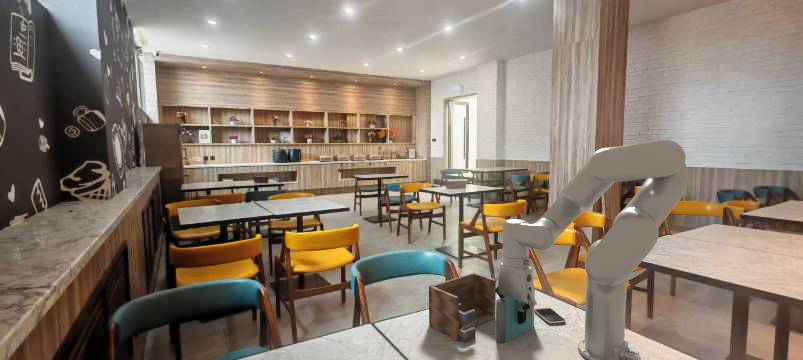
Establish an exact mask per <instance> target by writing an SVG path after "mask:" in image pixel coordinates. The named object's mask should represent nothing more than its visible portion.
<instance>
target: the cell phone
mask: <svg viewBox="0 0 803 360" xmlns="http://www.w3.org/2000/svg"><path fill="white" fill-rule="evenodd" d="M534 314H536V315H538V317H539V318H540V319H542V320H543V321H544V322H545V323H546V324H547V325H550V326H552V325H554V326H555V325H564V324H566V322H567V321H566V319H565V318H564V317H563V316H561V315H560V314H558V313H557V312H556V311H555V310H554V309H552V308H551V307H543V308H542V307H541V308H534Z"/></svg>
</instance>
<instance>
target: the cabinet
mask: <svg viewBox="0 0 803 360" xmlns="http://www.w3.org/2000/svg"><path fill="white" fill-rule="evenodd" d="M496 288H497V280H496V279H495V278H492V277H488V276H485V275H483V274H480V273H478V272H471V273H468V274H465V275H462V276H458V277H454V278H452V279H448V280H445V281H441V282H438V283H434V284H432V285H428V326H429V327H431V328H432V329H434V330H436V331H438V332H440V333H441V334H443V335H445V336H446V337H448V338H450V339H452V340H453V341H455V342H456V341H460V342H462V343H467V342H469V341H471V340H473V339H476V337H477V336H476V329H477V328H476V327H478V326H481V325H483V324H485V323H488V322H490V321H492V320H495V319H496V300H497V299H496V298H497V297H496V296H497V293H496V292H495V289H496Z"/></svg>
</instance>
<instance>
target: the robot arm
mask: <svg viewBox="0 0 803 360" xmlns="http://www.w3.org/2000/svg"><path fill="white" fill-rule="evenodd" d="M686 159H687V158H686V152H685V149H683V147H682V145H680V144H679V143H677V142H676V141H674V140H671V139H656V140H655V139H654V140H651V141H646V142H639V143H633V144H627V145H621V146H612V147H611V146H610V147H602V148H600V149H598V150H596V151H595V152H593V154H592V155H591V156H590V158H589V159H588V161H586V162H585V164H583V166H582V167H581V168H580V169H579V170H578V171H577V173H576V174H574V176H573V177H572V178H571V179H570V180H569V181H568V182H567V184H565V186H564V187H563V188H562V189H561V191H560V193H559V195H558V197H557V199H555V201H554V202H553V203H552V204H551V205H550V207H549V208H548V209H547V210H546V211H545V212H544V213H543V214H542V215H541V216H540V218H538V219H537V221H535V222H534V223H529V222H528V221H527V220H525V219H517V218H510V219H506V220H505V221H503V223H502V224H503V225H502V262H501V263H500V267H499V271H498V281H497V282H498V283H497V286H496V289H495V292H496V295H497V296H499V299H502V298H505V297H507V296H509V297H511V298H514V300H516V301H518V304H519V310H520V311H518V324H519V325H520V324H523V323H525V322H526V310H528V309H529V308H530V307H533V306H534V307H535V306H537V305H538V302H537V300H536V299H535V296H534V290H535V285H534V284H535V283H534V275H533V269H532V267H531V266H532V265H533V261H531V260H530V249H534V250H539V251H546V250H549V249H551V248H553V246H554V245H555V244H556V241H557V240H558V238H559V237H560V236H561V235H562V234H563V233H564V232H565V230H567V228H569V226H571V224H572V223H574V221H575V220H577V218H579V217H580V216H581V215H582V214H585V213H586V212H588V211H589V210H590V209H591V208H592V207H593V206H594V205H595V203H597V201H598V200H599V199H601V197H602V196H604V194H605V193H606V192H607V191H608V190H609V189H610V188H611V187H612V186H613V185H614V184H615V183H619V182H630V181H631V182H632V181H637V180H644V182H643V183H642V185H641V186H640V188H639V190H638V191H637V192H636V193H635V195H634V196H633V197H632V199H631V200H630V201H629V202H628V203H627V204H626V206H625V207H624V208H623V209H622V210H621V211H620V212H619V213H618V214H617V215H616V216H615V218H614V220H613V223H612V226H611V227H610V228H609V230H608V231H607V232H606V233H605V235H604V236H603V237H602V238H601V239H598V240H596V241H594V242H593V243H592V244H591V245H590V246H589V248H588V249H587V253H586V256H585V259H584V260H585V261H584V268H585V272H586V287H585V288H586V289H585V290H586V292H585V293H586V294H585V311H584V312H585V314H584V315H585V316H584V317H585V318H584V339H583V340H580V341H579V342H578V344H577V346H578V348H577V350H578V352H579V353H580V354H581V356H582V357H584V358H586V359H587V360H641V356H640V352H639V351H636V350H633V349H631V348H630V347H629V342H628V341H626V340H625V330H626V310H627V287H628V277H629V276H630V275H631V274H632V273H633V272H634V271H635V269H636V268H637V267H638V266H639V265H641V263H642V262H643V261H644V260H645V259H646V257H647V256H648V255H649V254H650V253H651V251H652V250H653V249H654V248H655V245H656V244H657V243H658V240H659V235H660V233H659V232H660V231H659V227H660V226H661V225H662V224H663V222H664V221H665V220H666V219H667V217H669V215H670V214H671V212H672V211H673V210H674V209H675V208H676V206H677V205H678V204H679V203H680V200H681V199H682V198H683V196H684V194H685V192H686V189H687V185H688V177H689V176H688V167H687V164H686ZM527 299H528V300H529V303H528V302H527ZM523 305H524V306H523Z"/></svg>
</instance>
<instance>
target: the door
mask: <svg viewBox="0 0 803 360" xmlns="http://www.w3.org/2000/svg"><path fill="white" fill-rule="evenodd" d="M534 297H535V289H534ZM527 302H528V303H529V300H528V299H527ZM523 306H524V305H523ZM534 309H535V306H533V307H530V308H529V309H528V310H526V322H525V323H523V324H520V325H519V324H518V311H520V310H519V304H518V301H516V300H514V298H511V297H509V296H507V297H505V298H502V299H500V298H498V299H496V313H495V341H496V342H497V343H499V344H504V343H506V341H508V340H510V339H512V338H514V337H516V336H518V335H520V334H522V333H524V332H526V331H529V330H531V329H533V328H535V312H534Z"/></svg>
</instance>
